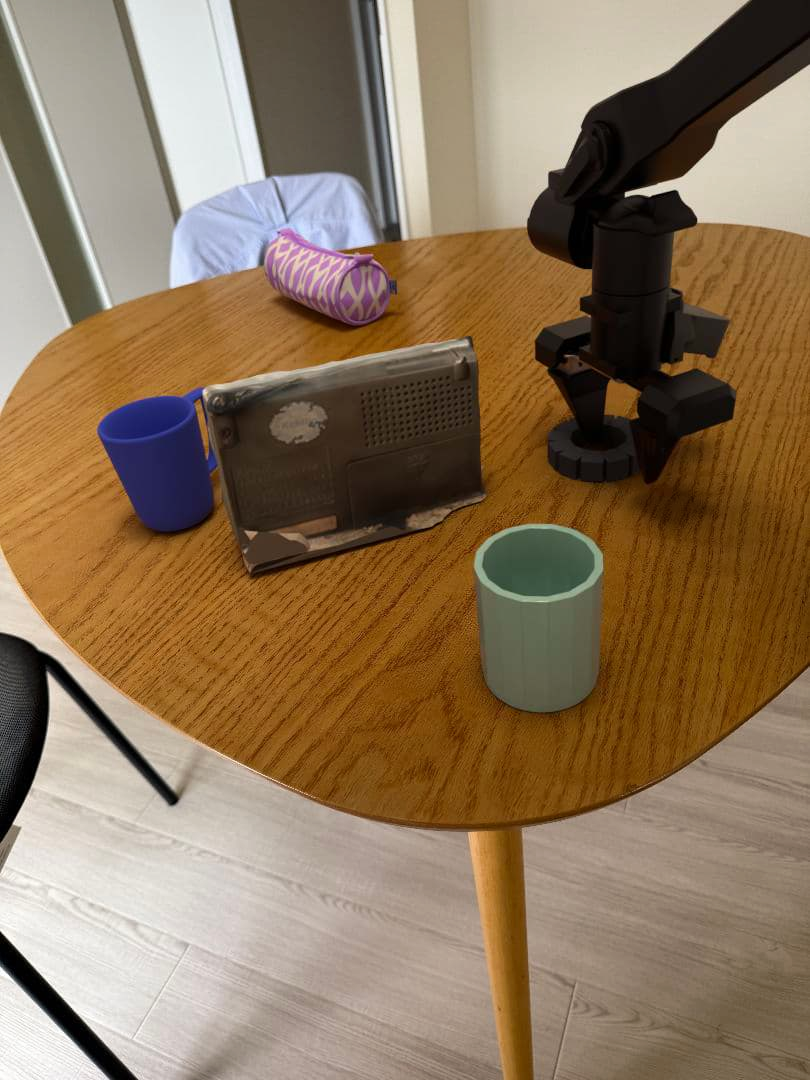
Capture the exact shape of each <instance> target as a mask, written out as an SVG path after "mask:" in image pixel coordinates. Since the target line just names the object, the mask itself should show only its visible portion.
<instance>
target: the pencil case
mask: <svg viewBox="0 0 810 1080" xmlns="http://www.w3.org/2000/svg"><path fill="white" fill-rule="evenodd" d="M276 233H277V235H280V236H278V237H276V238H274V239H272V240H271V241H270V242H269V244H268V245H267V248H266V249H265V254H264V261H263V270H264V274H265V277H266V280H267V282H268V284H269V286H270V287H271V288H272V289H273V290H274V291H276V292H277V293H279V294H281V295H282V296H284V297H287V298H289V299H291V300H293V301H294V302H297V303H299V304H301V305H303V306H305V307H308V308H309V309H312V310H313V311H316V312H318V313H321V314H323V315H324V316H327V317H329V318H332V319H335V320H338V321H340V322H343V323H345V324H348V325H352V326H365V325H367V324H369V323H372V322H374V321H376V320H377V319H378V318H380V317H381V316H382V315H383V314H384V313H385V311H386V309H387V308H388V305H389V303H390V300H391V299H390V298H391V295H396V296H397V295H398V280H397V279H393V278H392V279H391V278H390V276H389V274H388V272H387V271H386V269H385V268H384V267H383V266H382V264H380V263H379V262H378V261H376V260H374V254H373V253H371V254H370V253H369V254H361V253H360V252H355V253H354V254H353V253H351V254H349V253H343V252H340V251H337V250H329V249H327V248H324V247H322V246H321V245H316V244H314V243H312V242H311V241H310V240H309V239H307V238H305V237H304V236H302V235H301V234H299V233H296V232H295V231H294V230H293V229H292V228H291V227H287V228H283V229H280V230H277V231H276Z"/></svg>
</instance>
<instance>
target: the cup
mask: <svg viewBox="0 0 810 1080" xmlns="http://www.w3.org/2000/svg"><path fill="white" fill-rule="evenodd" d="M473 578H474V591H475V603H476V613H477V614H476V615H477V627H478V628H477V629H478V641H479V651H480V652H479V653H480V663H481V664H480V665H481V669H482V673H483V679H484V682H485V684H486V686H487V687H488V689H489V690H490V692H491V693H492V694H493V695H494V696H495V697H496V698H497V699H498V700H500V701H501V702H503V703H505V704H507V705H508V706H511V707H512V708H515V709H518V710H521V711H525V712H531V713H554V712H559V711H563V710H567V709H569V708H571V707H574V706H575V705H577V704H579V703H581V702H582V701H584V700H585V699H586V698H587V697H588V696H589V695H590V694H591V693H592V692H593V690H594V689H595V687H596V685H597V682H598V680H599V673H600V659H601V638H602V637H601V636H602V635H601V634H602V612H603V592H604V591H603V588H604V554H603V552H602V551H601V549H600V548H599V547H598V545H597V544H596V543H595V541H594V540H593V538H590V537H589V536H587V535H585V534H584V533H582V532H580V531H579V530H576V529H575V528H570V527H566V526H562V525H559V524H555V523H526V524H521V525H516V526H512V527H507V528H505V529H503V530H501V531H499V532H497V533H495V534H493V535H491V536H489V537H487V539H486V540H485V541H484V542H483V543H482V544H481V545H480V546H479V547H478V549H477V550H476V552H475V555H474V561H473Z"/></svg>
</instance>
